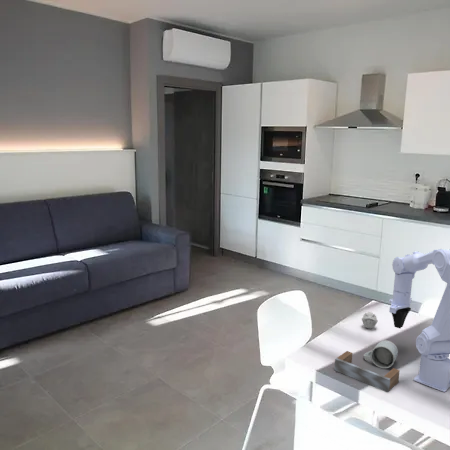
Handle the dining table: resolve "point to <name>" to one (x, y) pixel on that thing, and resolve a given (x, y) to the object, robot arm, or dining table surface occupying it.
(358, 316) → the dining table surface
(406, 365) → the dining table surface
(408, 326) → the dining table surface
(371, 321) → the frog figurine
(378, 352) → the ceramic mug
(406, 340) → the dining table surface
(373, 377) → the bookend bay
